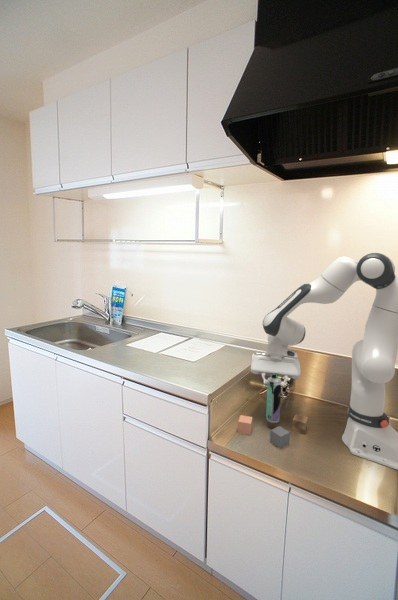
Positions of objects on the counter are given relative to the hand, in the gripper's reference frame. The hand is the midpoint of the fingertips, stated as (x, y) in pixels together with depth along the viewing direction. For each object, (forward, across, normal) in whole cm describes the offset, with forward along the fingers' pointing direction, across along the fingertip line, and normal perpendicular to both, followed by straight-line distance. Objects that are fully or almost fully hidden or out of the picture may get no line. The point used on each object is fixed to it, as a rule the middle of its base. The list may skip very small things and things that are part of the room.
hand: (273, 385), depth 121 cm
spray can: (+10, 0, +12) cm, 15 cm away
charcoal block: (+20, +4, +7) cm, 21 cm away
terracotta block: (+17, -10, +9) cm, 22 cm away
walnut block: (+11, +11, +15) cm, 22 cm away
